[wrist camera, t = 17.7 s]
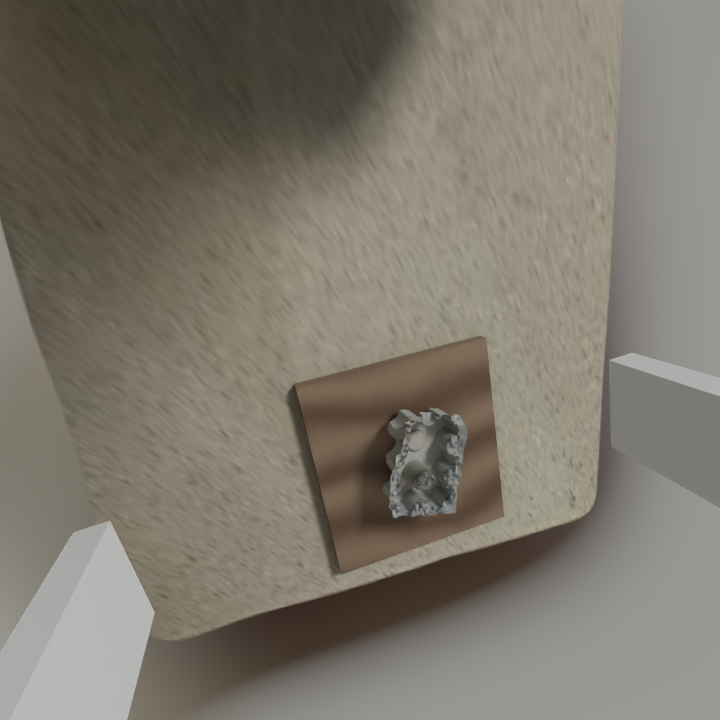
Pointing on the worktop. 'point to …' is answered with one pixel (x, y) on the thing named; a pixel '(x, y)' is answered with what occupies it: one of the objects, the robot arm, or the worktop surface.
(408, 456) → the egg carton
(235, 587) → the worktop surface
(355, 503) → the walnut board
